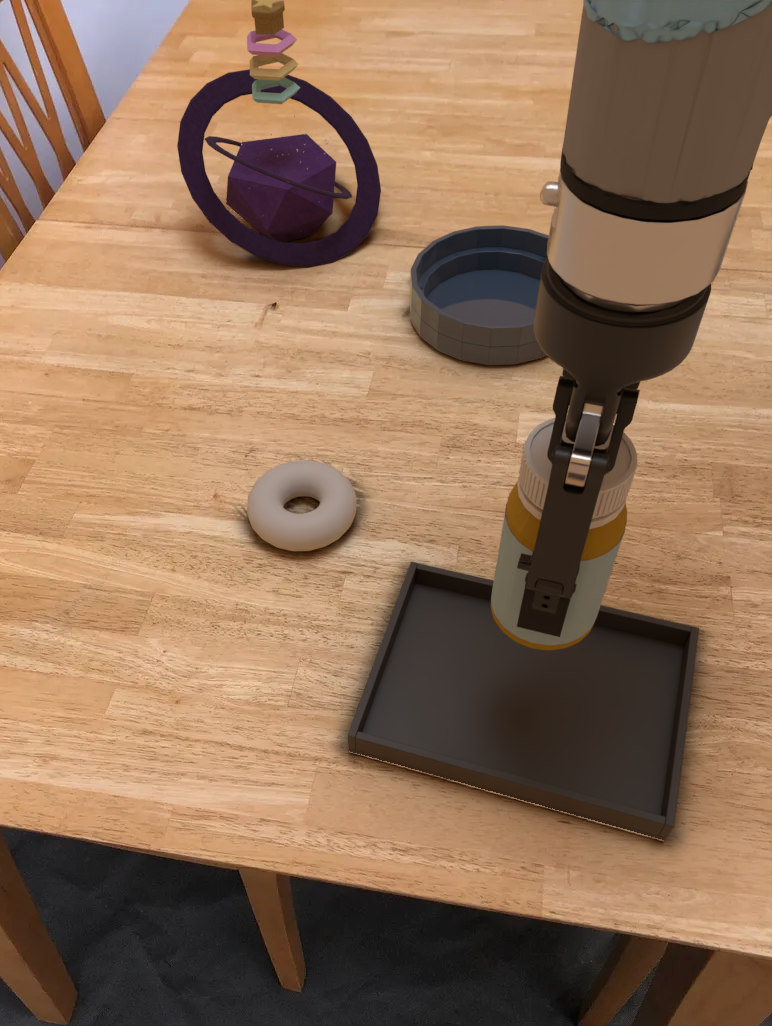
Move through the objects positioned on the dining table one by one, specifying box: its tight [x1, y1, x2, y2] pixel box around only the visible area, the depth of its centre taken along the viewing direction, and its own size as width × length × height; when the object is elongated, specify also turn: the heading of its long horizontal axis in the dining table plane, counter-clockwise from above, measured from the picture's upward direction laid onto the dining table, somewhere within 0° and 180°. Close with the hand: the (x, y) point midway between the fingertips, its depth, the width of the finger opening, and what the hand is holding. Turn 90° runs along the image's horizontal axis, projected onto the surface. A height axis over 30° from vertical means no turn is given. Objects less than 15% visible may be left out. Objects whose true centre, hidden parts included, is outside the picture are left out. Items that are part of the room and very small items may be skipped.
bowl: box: [409, 224, 549, 366], centre depth 99 cm, size 18×18×5 cm
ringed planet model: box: [176, 0, 382, 268], centre depth 103 cm, size 22×21×25 cm
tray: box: [347, 561, 700, 841], centre depth 71 cm, size 23×17×3 cm
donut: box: [246, 459, 358, 552], centre depth 83 cm, size 10×4×10 cm
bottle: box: [491, 417, 638, 650], centre depth 57 cm, size 7×7×15 cm
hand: (551, 580), depth 60 cm, fingers closed on bottle, 7 cm apart
